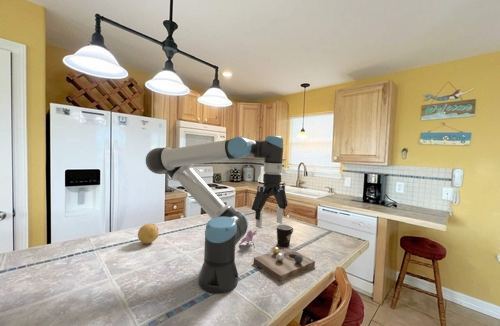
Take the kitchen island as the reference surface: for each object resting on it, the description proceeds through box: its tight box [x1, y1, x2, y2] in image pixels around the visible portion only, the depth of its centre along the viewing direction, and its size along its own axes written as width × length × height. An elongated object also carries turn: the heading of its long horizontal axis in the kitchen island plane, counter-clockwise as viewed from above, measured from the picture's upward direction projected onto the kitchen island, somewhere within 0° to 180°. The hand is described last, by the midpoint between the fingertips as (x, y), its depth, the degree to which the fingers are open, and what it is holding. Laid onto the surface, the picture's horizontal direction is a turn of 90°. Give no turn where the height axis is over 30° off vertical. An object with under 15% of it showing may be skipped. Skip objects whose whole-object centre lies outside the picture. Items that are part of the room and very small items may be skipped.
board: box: [253, 247, 316, 283], centre depth 97 cm, size 22×17×2 cm
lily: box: [239, 229, 258, 249], centre depth 114 cm, size 12×12×10 cm
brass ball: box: [272, 246, 280, 255], centre depth 101 cm, size 3×3×3 cm
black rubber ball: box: [295, 255, 302, 263], centre depth 94 cm, size 3×3×3 cm
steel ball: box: [276, 253, 284, 262], centre depth 95 cm, size 3×3×3 cm
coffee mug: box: [276, 224, 294, 248], centre depth 119 cm, size 12×9×10 cm
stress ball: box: [137, 223, 160, 245], centre depth 112 cm, size 10×10×10 cm
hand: (269, 225), depth 90 cm, fingers open, 11 cm apart
